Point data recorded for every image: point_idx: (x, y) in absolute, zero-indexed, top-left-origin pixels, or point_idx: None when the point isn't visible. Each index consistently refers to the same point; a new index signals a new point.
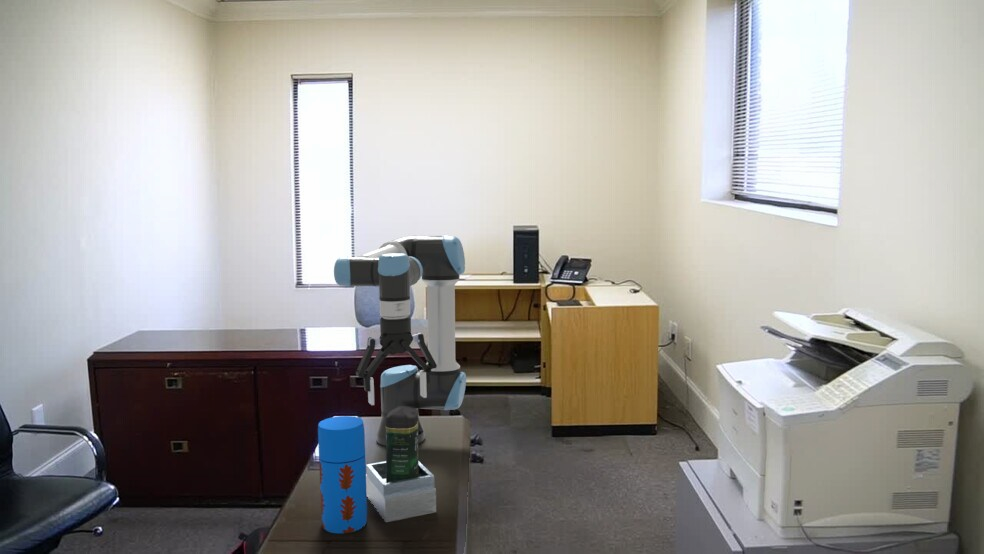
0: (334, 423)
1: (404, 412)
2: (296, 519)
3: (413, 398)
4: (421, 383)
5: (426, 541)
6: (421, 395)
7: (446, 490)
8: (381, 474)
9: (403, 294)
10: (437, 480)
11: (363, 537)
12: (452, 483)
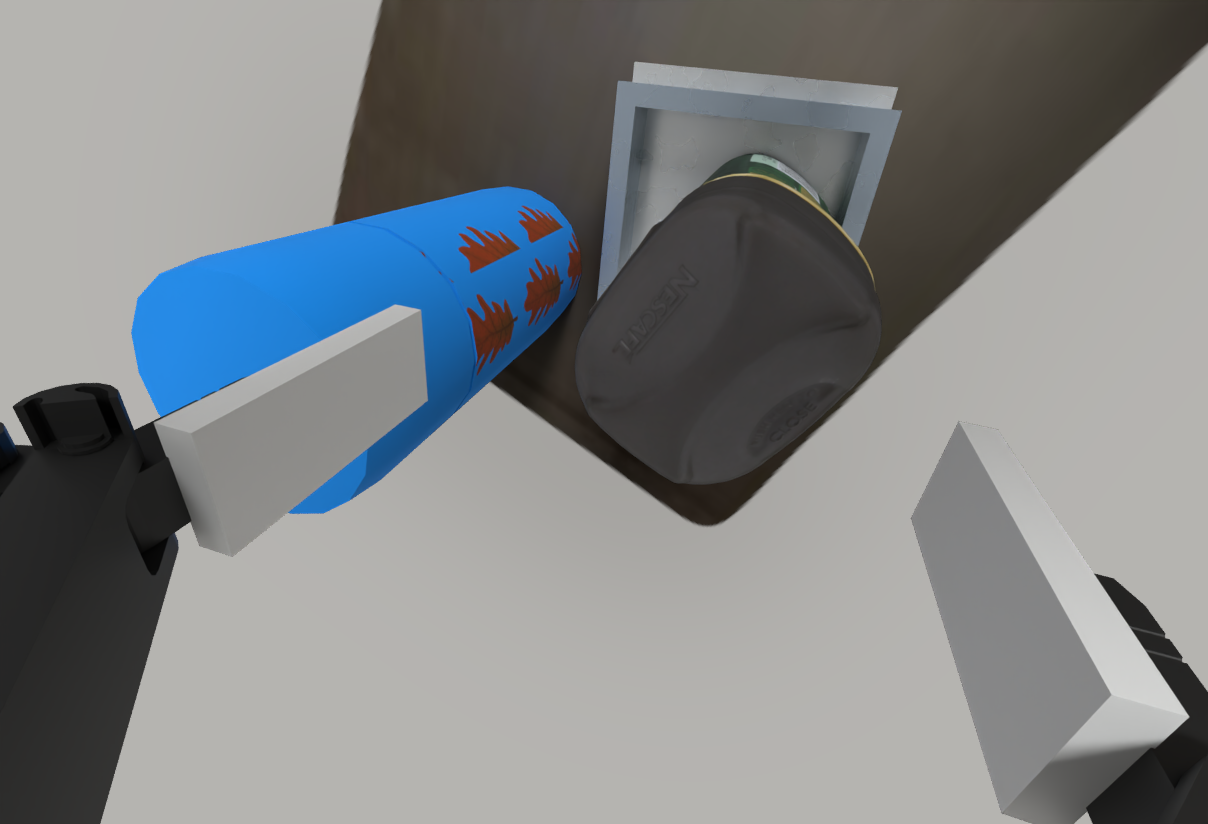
0: (215, 390)
1: (690, 440)
2: (393, 134)
3: None
4: (984, 568)
5: (667, 485)
6: (943, 459)
7: (974, 213)
8: (696, 113)
9: None
10: (1041, 66)
11: (538, 371)
12: (1066, 152)
